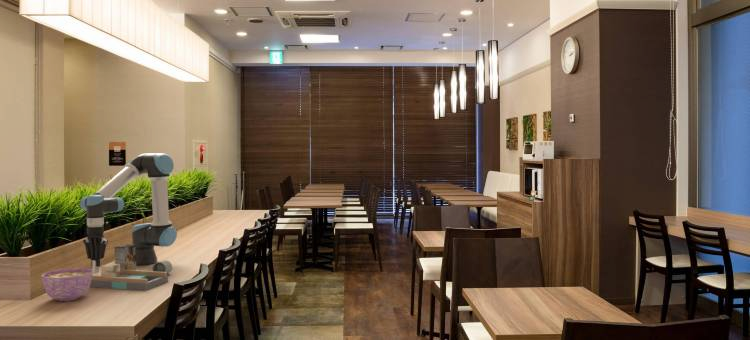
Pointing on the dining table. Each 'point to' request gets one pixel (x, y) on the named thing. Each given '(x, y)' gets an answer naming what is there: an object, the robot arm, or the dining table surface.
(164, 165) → the robot arm
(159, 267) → the ceramic mug
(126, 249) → the coffee box
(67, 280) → the bowl of food
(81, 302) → the dining table surface
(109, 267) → the maple block
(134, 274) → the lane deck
